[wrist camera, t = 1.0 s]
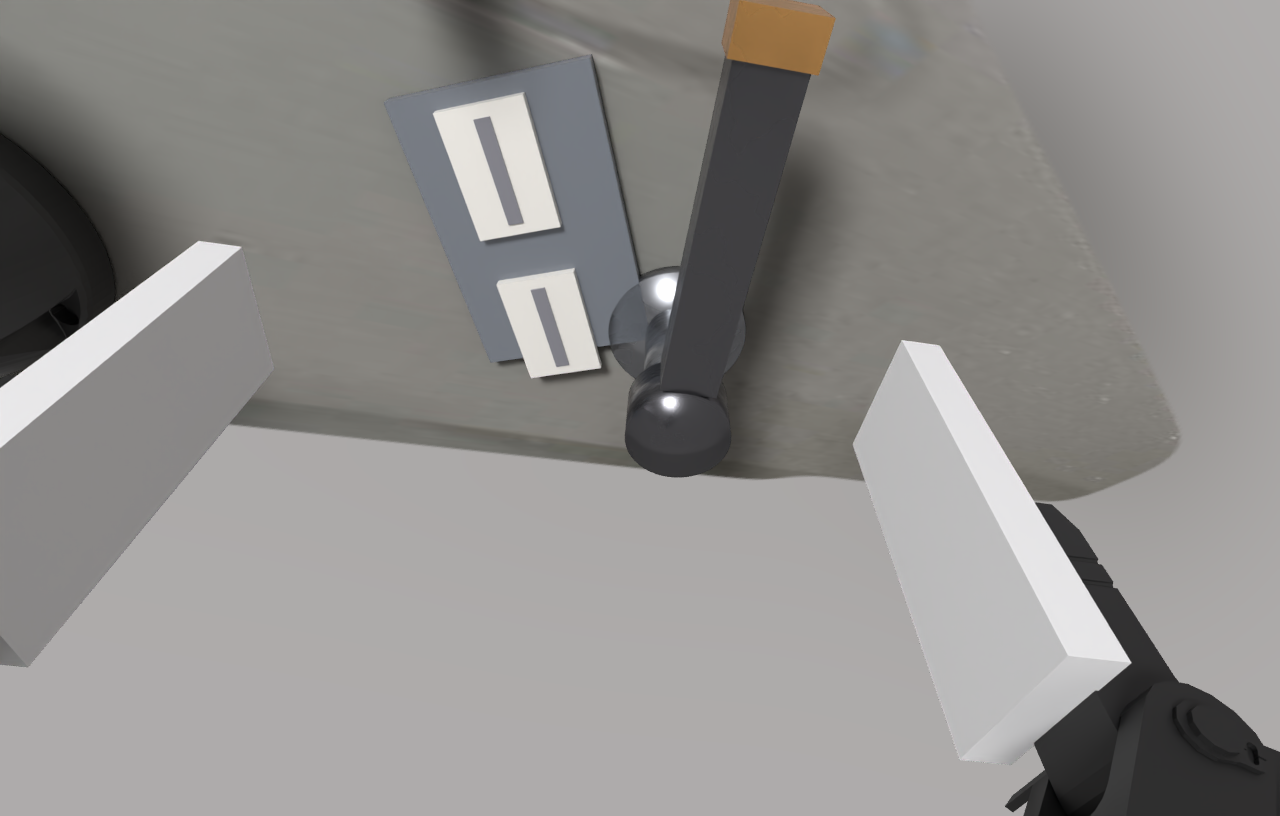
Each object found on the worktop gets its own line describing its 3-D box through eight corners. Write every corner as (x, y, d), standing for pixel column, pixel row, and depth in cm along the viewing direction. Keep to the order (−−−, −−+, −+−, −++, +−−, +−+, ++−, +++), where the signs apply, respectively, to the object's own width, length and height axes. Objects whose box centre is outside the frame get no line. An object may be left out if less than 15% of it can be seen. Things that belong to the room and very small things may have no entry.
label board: (499, 370, 41) (495, 384, 40) (389, 98, 31) (378, 105, 30) (655, 348, 39) (654, 361, 38) (591, 54, 29) (588, 60, 28)
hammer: (714, 443, 34) (717, 483, 32) (622, 430, 34) (618, 469, 32) (846, 10, 22) (867, 24, 20) (703, -17, 22) (707, -6, 19)
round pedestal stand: (624, 390, 41) (618, 459, 36) (595, 278, 36) (582, 340, 31) (750, 373, 40) (761, 442, 35) (737, 255, 35) (748, 316, 30)
